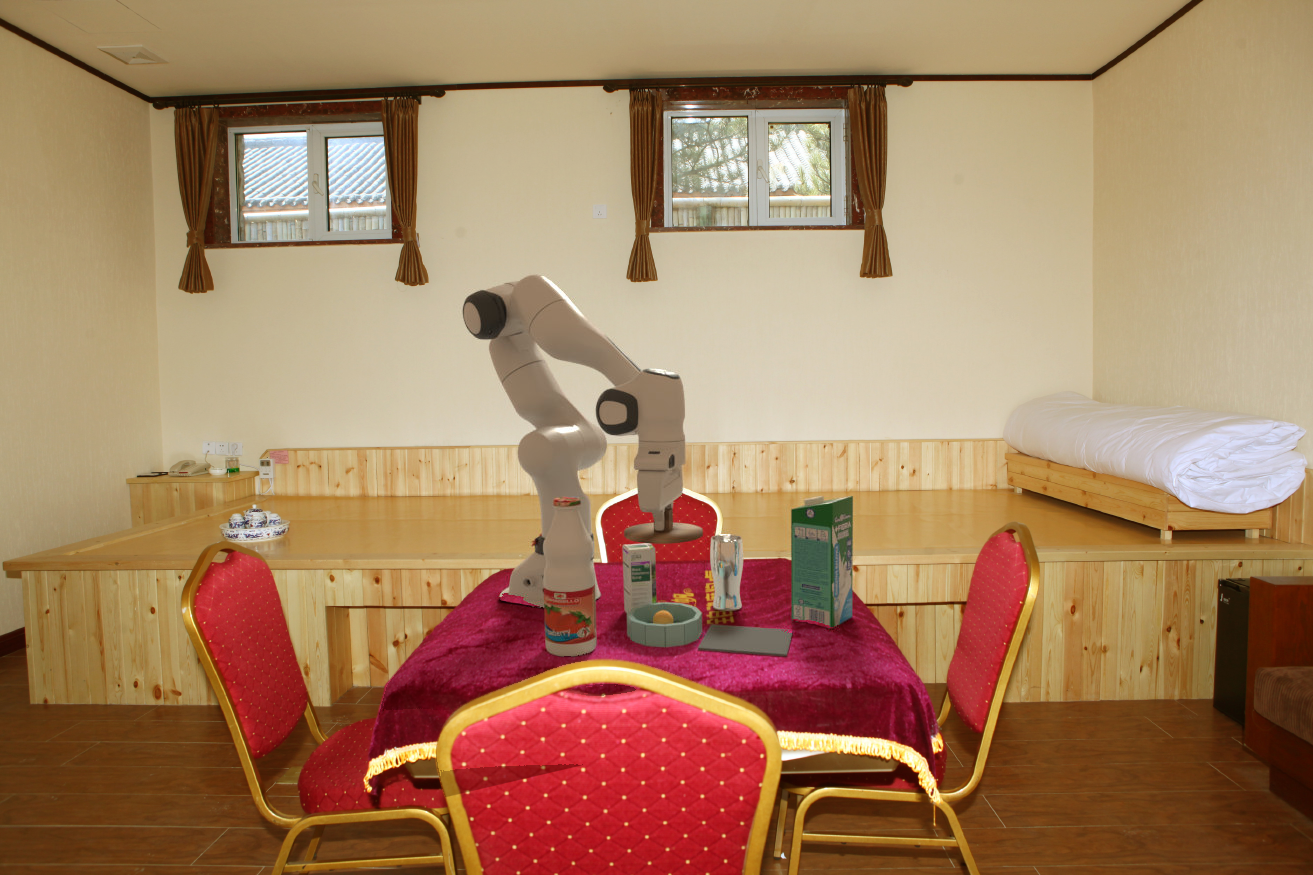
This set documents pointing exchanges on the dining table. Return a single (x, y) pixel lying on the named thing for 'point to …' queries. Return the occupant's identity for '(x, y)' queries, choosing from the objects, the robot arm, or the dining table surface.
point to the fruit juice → (569, 583)
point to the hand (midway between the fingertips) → (663, 527)
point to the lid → (664, 531)
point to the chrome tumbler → (726, 570)
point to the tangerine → (663, 618)
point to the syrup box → (639, 575)
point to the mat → (746, 640)
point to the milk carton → (822, 560)
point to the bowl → (664, 625)
